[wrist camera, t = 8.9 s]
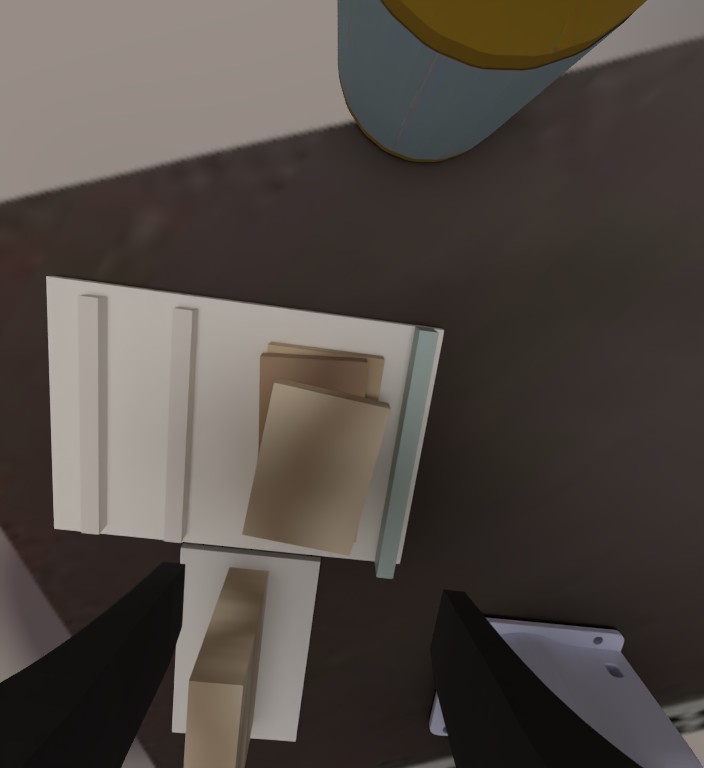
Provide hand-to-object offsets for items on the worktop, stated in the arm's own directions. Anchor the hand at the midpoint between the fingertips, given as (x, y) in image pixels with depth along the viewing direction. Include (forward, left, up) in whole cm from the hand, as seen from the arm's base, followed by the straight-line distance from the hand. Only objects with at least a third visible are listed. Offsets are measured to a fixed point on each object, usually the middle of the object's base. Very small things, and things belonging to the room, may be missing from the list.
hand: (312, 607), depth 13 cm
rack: (+4, -1, -10) cm, 11 cm away
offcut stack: (+1, -1, -9) cm, 9 cm away
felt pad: (+3, +12, -10) cm, 15 cm away
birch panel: (+3, +11, -10) cm, 15 cm away
